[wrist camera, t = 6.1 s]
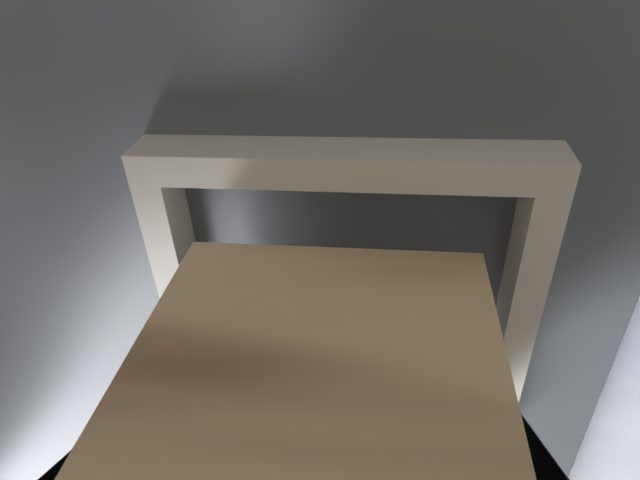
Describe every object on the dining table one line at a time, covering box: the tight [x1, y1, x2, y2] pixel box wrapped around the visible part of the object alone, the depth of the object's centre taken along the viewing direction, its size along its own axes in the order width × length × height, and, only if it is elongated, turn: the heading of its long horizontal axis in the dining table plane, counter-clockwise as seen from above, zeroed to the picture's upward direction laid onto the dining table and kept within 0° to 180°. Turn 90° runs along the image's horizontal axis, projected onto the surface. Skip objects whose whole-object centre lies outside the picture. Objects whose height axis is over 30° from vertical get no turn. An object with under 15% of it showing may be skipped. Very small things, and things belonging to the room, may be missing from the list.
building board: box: [0, 0, 640, 480], centre depth 12 cm, size 20×20×2 cm
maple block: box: [54, 242, 537, 480], centre depth 8 cm, size 5×5×5 cm
